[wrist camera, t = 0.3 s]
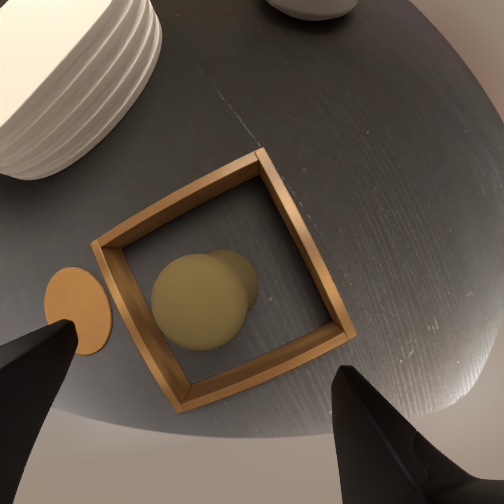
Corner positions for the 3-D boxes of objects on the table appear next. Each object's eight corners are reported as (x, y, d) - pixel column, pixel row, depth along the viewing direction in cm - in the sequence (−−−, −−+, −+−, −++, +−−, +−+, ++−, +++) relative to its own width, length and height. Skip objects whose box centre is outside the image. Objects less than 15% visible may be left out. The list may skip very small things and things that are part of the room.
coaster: (127, 337, 25) (126, 338, 25) (69, 363, 25) (67, 364, 25) (89, 251, 25) (87, 251, 25) (36, 288, 25) (34, 288, 25)
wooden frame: (344, 323, 24) (357, 335, 20) (188, 394, 25) (177, 414, 21) (263, 162, 25) (263, 146, 21) (112, 244, 25) (89, 243, 21)
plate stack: (169, 133, 25) (117, 66, 14) (-13, 208, 26) (-75, 197, 15) (161, -20, 26) (140, -74, 14) (13, 54, 27) (-24, 25, 15)
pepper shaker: (269, 266, 24) (275, 274, 14) (242, 331, 25) (226, 385, 14) (203, 238, 25) (159, 225, 14) (177, 302, 25) (120, 334, 14)
